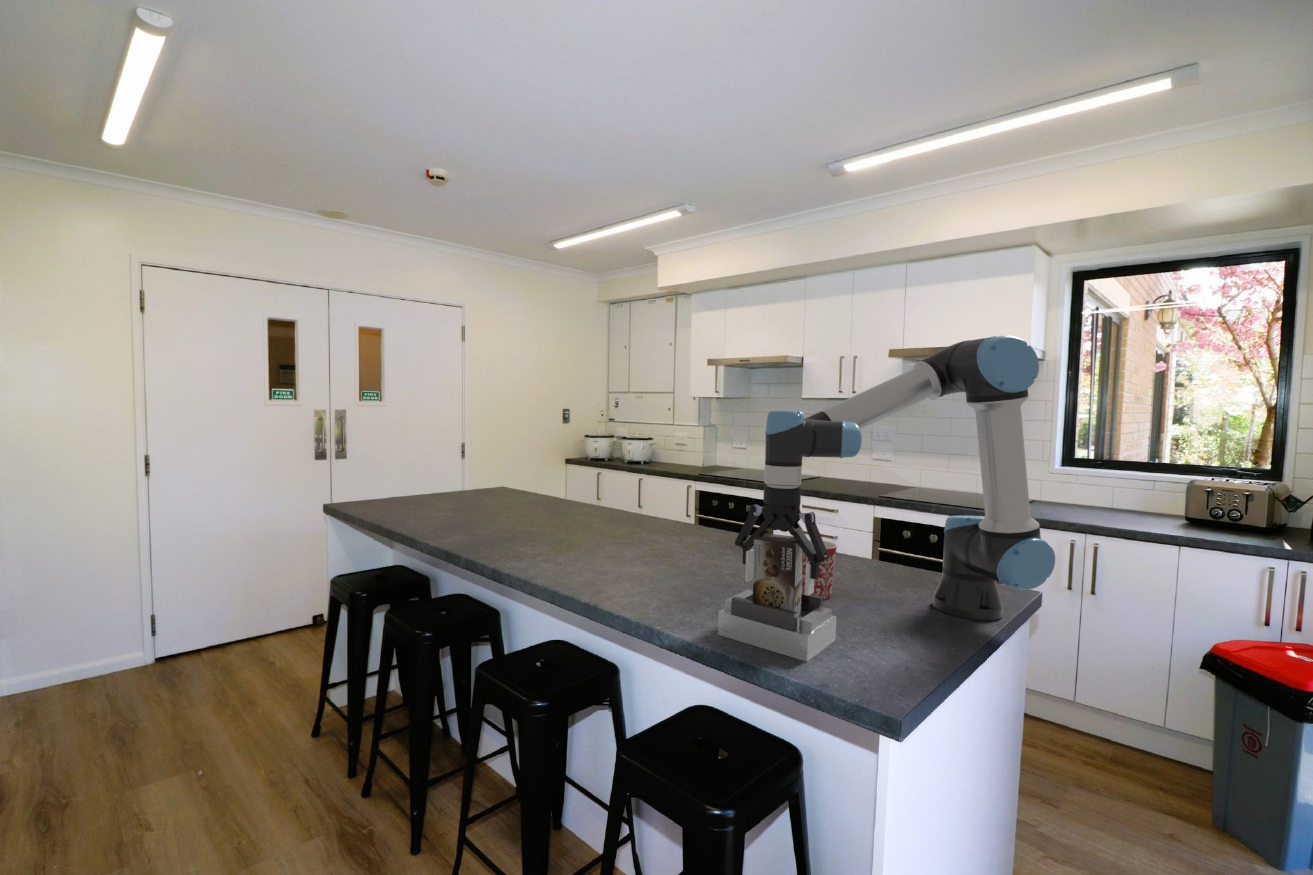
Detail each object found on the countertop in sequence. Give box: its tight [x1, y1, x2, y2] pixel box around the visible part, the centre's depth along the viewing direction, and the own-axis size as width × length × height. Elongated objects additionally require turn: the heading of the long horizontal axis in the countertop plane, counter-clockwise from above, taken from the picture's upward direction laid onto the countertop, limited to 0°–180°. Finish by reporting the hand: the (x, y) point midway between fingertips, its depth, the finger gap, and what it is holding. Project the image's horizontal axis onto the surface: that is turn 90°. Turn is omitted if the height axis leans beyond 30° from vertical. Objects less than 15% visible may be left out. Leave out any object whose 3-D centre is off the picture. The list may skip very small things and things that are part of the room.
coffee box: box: [752, 532, 803, 618], centre depth 127 cm, size 9×6×16 cm
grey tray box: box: [717, 588, 837, 663], centre depth 128 cm, size 20×14×8 cm
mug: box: [802, 539, 838, 601], centre depth 157 cm, size 13×9×14 cm
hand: (778, 586), depth 127 cm, fingers open, 13 cm apart
